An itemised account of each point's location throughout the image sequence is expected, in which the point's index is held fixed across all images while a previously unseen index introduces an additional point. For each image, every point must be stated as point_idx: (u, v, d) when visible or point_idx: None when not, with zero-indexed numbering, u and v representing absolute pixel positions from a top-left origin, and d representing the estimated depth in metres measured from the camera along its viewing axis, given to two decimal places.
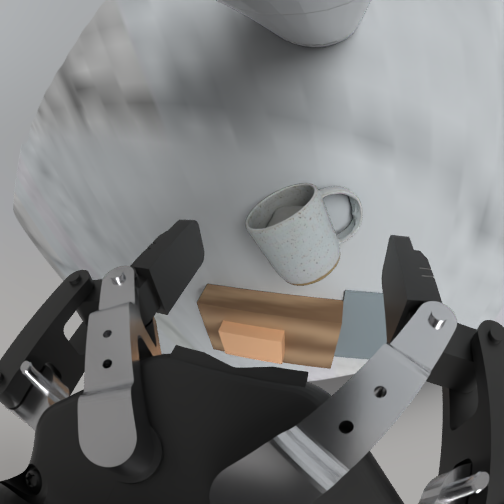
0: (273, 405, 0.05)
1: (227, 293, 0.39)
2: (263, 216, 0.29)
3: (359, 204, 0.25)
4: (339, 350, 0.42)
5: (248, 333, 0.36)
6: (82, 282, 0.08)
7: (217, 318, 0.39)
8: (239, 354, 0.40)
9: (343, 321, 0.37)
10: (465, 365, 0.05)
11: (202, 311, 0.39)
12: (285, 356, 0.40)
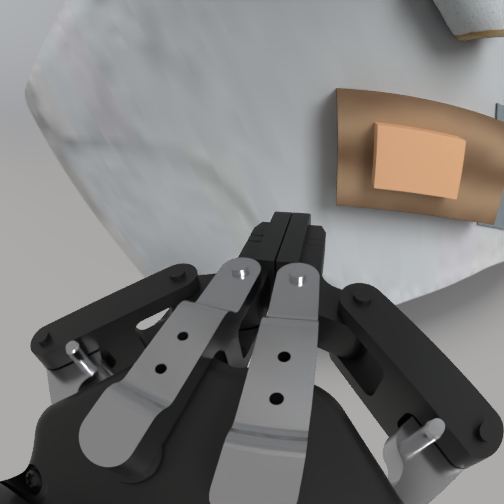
0: None
1: None
2: None
3: None
4: None
5: (420, 130, 0.19)
6: (189, 278, 0.08)
7: (365, 119, 0.21)
8: (397, 185, 0.22)
9: None
10: (330, 325, 0.07)
11: (342, 106, 0.21)
12: (449, 200, 0.22)
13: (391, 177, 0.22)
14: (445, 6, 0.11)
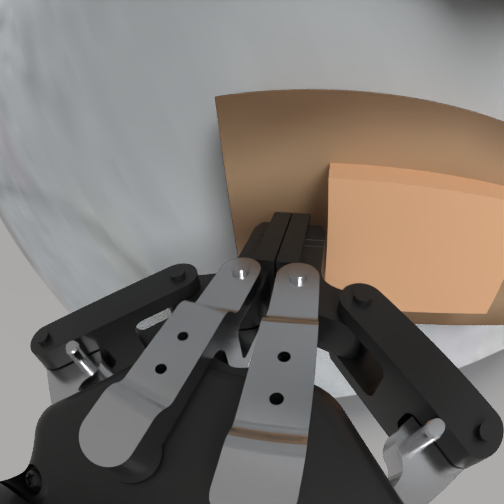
0: (273, 405, 0.05)
1: (310, 89, 0.11)
2: None
3: None
4: None
5: (438, 184, 0.08)
6: (190, 278, 0.08)
7: (281, 157, 0.11)
8: None
9: None
10: (330, 325, 0.07)
11: (230, 134, 0.11)
12: None
13: None
14: None
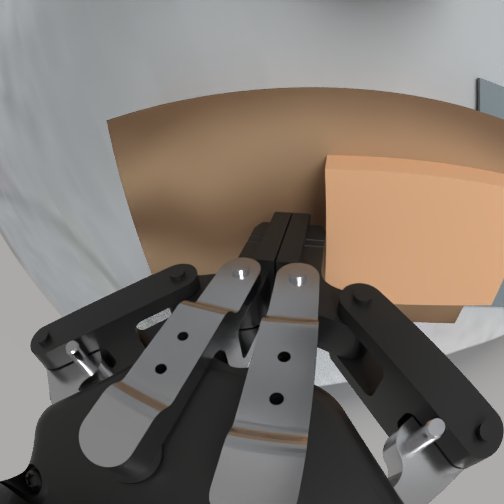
0: None
1: None
2: None
3: None
4: None
5: (436, 172, 0.08)
6: (189, 278, 0.08)
7: (152, 162, 0.13)
8: None
9: None
10: (330, 325, 0.07)
11: (118, 148, 0.13)
12: None
13: (362, 281, 0.11)
14: None
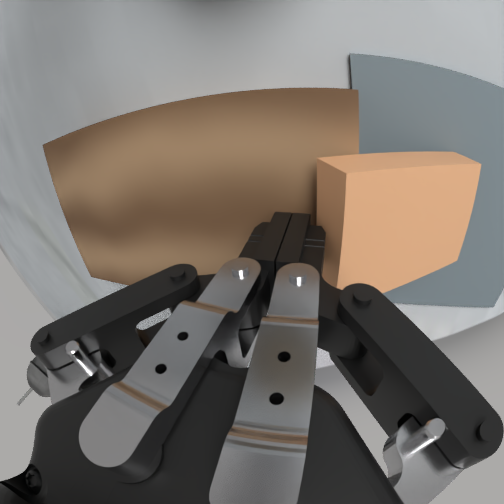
0: None
1: None
2: None
3: None
4: None
5: (421, 161, 0.09)
6: (189, 278, 0.08)
7: (69, 175, 0.15)
8: (378, 287, 0.11)
9: None
10: (330, 325, 0.07)
11: (51, 165, 0.15)
12: None
13: (368, 279, 0.11)
14: None
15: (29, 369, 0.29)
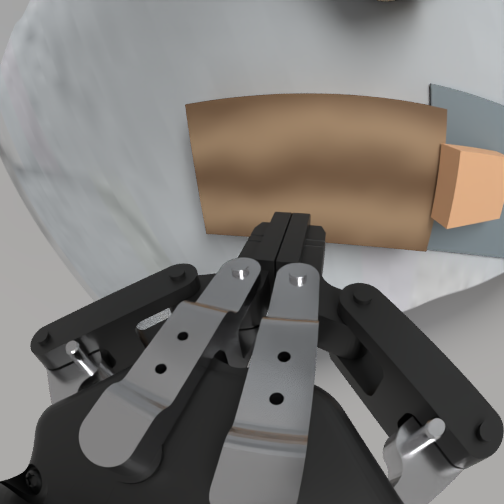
0: None
1: None
2: None
3: None
4: None
5: (484, 152, 0.14)
6: (189, 278, 0.08)
7: (218, 134, 0.20)
8: (465, 219, 0.16)
9: None
10: (330, 325, 0.07)
11: (193, 124, 0.20)
12: (347, 222, 0.21)
13: (462, 212, 0.16)
14: None
15: None
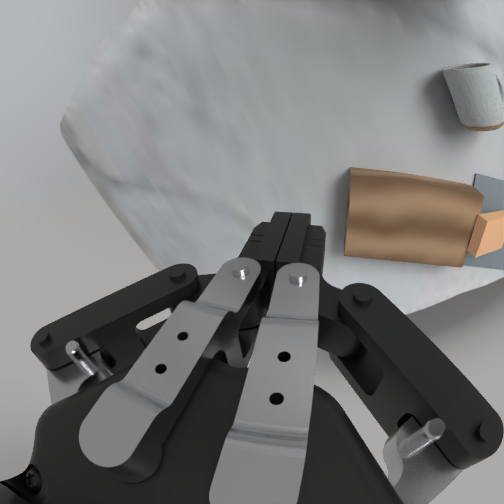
0: None
1: (377, 172, 0.32)
2: None
3: (501, 87, 0.18)
4: None
5: (498, 216, 0.26)
6: (189, 278, 0.08)
7: (369, 199, 0.32)
8: (483, 252, 0.29)
9: None
10: (330, 325, 0.07)
11: (354, 190, 0.32)
12: (426, 252, 0.33)
13: (483, 248, 0.28)
14: (458, 102, 0.21)
15: None
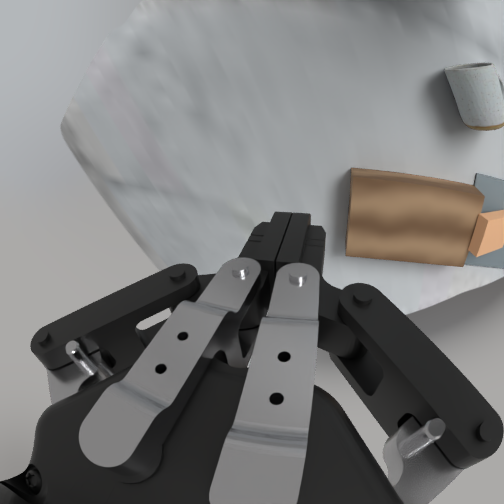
0: None
1: (378, 173, 0.32)
2: None
3: (503, 86, 0.18)
4: None
5: (498, 216, 0.26)
6: (189, 278, 0.08)
7: (370, 199, 0.32)
8: (484, 251, 0.29)
9: None
10: (330, 325, 0.07)
11: (355, 190, 0.32)
12: (427, 252, 0.33)
13: (484, 248, 0.28)
14: (461, 102, 0.21)
15: None
